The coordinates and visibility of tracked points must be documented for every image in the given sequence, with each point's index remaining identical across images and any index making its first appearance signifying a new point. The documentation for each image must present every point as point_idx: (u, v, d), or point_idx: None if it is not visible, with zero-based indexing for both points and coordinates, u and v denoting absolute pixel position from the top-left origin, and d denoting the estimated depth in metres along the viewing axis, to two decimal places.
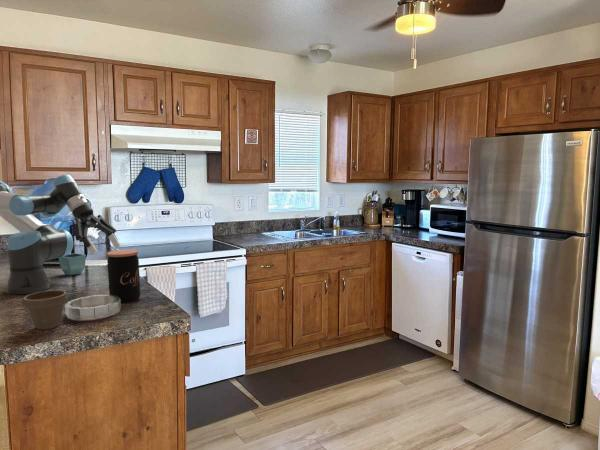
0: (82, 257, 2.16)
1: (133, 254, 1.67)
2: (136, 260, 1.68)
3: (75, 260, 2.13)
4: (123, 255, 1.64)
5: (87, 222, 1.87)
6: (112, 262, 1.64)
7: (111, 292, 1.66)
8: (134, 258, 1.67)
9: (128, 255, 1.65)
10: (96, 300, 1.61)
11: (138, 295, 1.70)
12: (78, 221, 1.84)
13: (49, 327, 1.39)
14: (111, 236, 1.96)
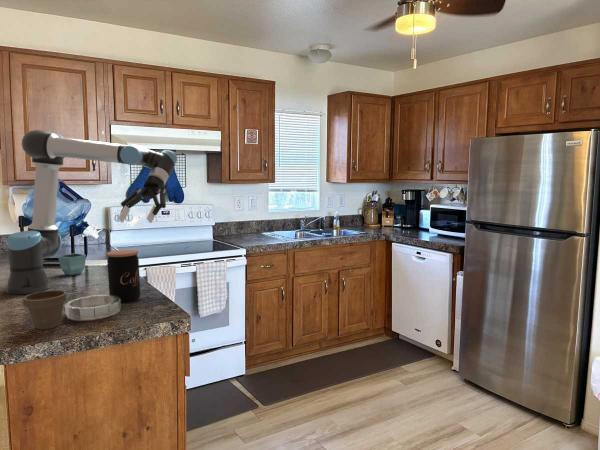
0: (82, 257, 2.16)
1: (133, 254, 1.67)
2: (136, 260, 1.68)
3: (75, 260, 2.13)
4: (123, 255, 1.64)
5: None
6: (112, 262, 1.64)
7: (111, 292, 1.66)
8: (134, 258, 1.67)
9: (128, 255, 1.65)
10: (96, 300, 1.61)
11: (138, 295, 1.70)
12: None
13: (49, 327, 1.39)
14: (127, 209, 1.86)
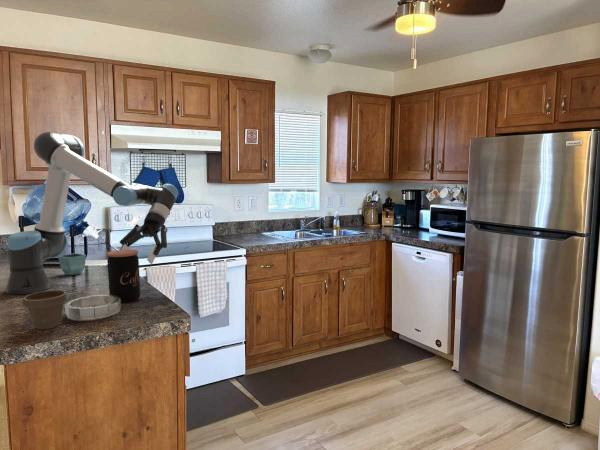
0: (82, 257, 2.16)
1: (133, 254, 1.67)
2: (136, 260, 1.68)
3: (75, 260, 2.13)
4: (123, 255, 1.64)
5: None
6: (112, 262, 1.64)
7: (111, 292, 1.66)
8: (134, 258, 1.67)
9: (128, 255, 1.65)
10: (96, 300, 1.61)
11: (138, 295, 1.70)
12: None
13: (49, 327, 1.39)
14: (127, 248, 1.79)
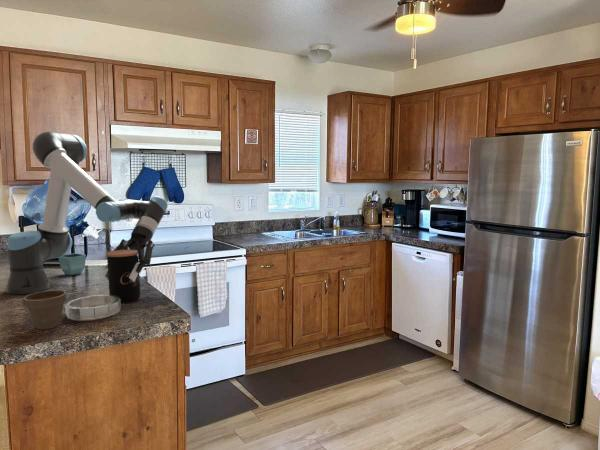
0: (82, 257, 2.16)
1: (133, 254, 1.67)
2: (136, 260, 1.68)
3: (75, 260, 2.13)
4: (123, 255, 1.64)
5: None
6: (112, 262, 1.64)
7: (111, 292, 1.66)
8: (134, 258, 1.67)
9: (128, 255, 1.65)
10: (96, 300, 1.61)
11: (138, 295, 1.70)
12: None
13: (49, 327, 1.39)
14: None
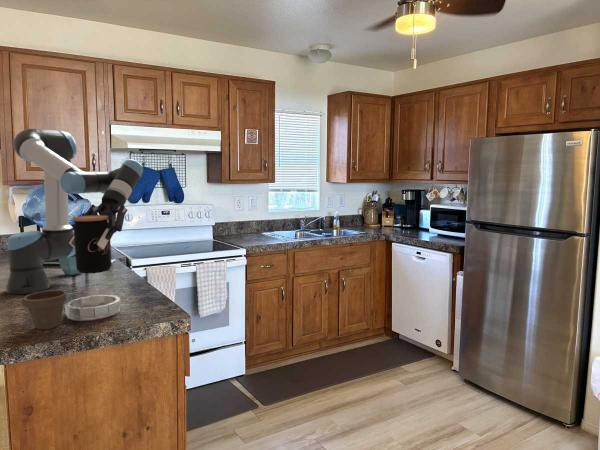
0: None
1: (102, 219, 1.50)
2: (106, 226, 1.52)
3: (75, 260, 2.13)
4: (91, 219, 1.48)
5: None
6: (79, 227, 1.48)
7: (78, 261, 1.50)
8: (103, 223, 1.51)
9: (96, 219, 1.49)
10: (96, 300, 1.61)
11: (108, 265, 1.53)
12: None
13: (49, 327, 1.39)
14: None
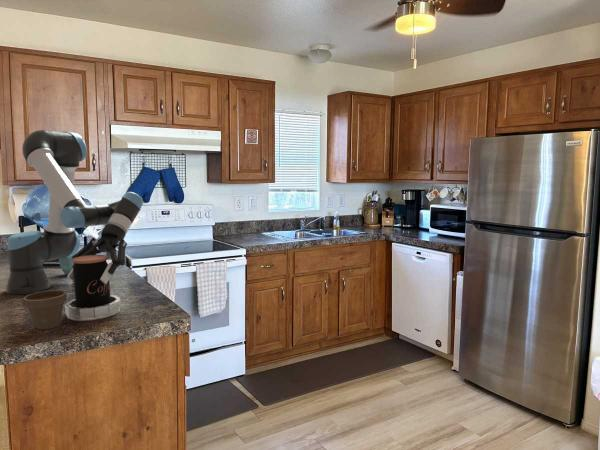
0: None
1: (101, 260, 1.51)
2: (105, 267, 1.52)
3: None
4: (90, 261, 1.48)
5: None
6: (78, 269, 1.48)
7: (77, 302, 1.50)
8: (102, 264, 1.52)
9: (95, 261, 1.49)
10: None
11: None
12: None
13: (49, 327, 1.39)
14: None
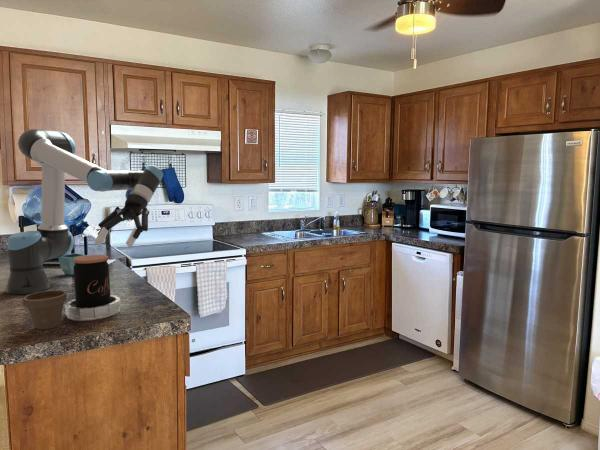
0: None
1: (102, 260, 1.51)
2: (105, 267, 1.52)
3: None
4: (90, 261, 1.48)
5: None
6: (78, 269, 1.48)
7: (77, 302, 1.50)
8: (103, 264, 1.52)
9: (96, 261, 1.49)
10: None
11: None
12: None
13: (49, 327, 1.39)
14: (106, 231, 1.68)
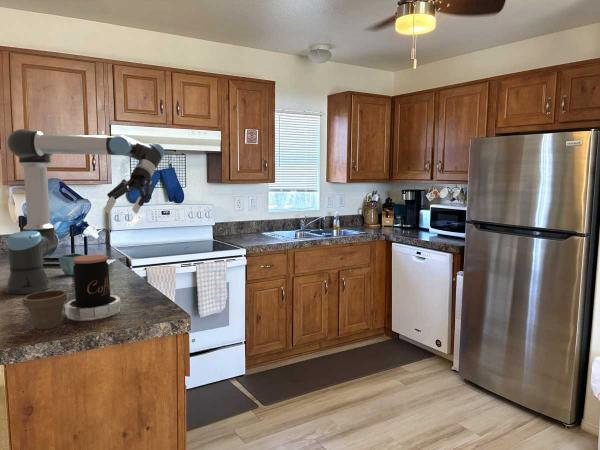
0: None
1: (102, 260, 1.51)
2: (105, 267, 1.52)
3: None
4: (90, 261, 1.48)
5: None
6: (78, 269, 1.48)
7: (77, 302, 1.50)
8: (103, 264, 1.52)
9: (96, 261, 1.49)
10: None
11: None
12: None
13: (49, 327, 1.39)
14: (114, 200, 1.88)
